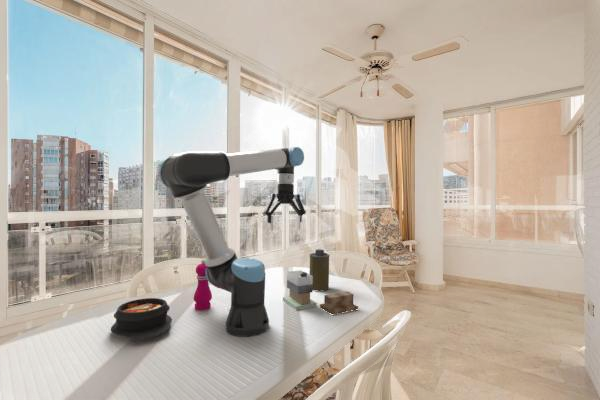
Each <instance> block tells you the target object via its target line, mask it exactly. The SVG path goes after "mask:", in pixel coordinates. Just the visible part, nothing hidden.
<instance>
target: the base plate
mask: <svg viewBox="0 0 600 400" xmlns="http://www.w3.org/2000/svg"><path fill="white" fill-rule="evenodd" d="M286 288H287V289H290V290H292V291H293V292H295V293H297V294H304V293H310V294H311V293H313V292H314V291H313V284H310V285H302V286H297V285H295V284H294V283H292V282H290V281H289V280H287V279H286Z"/></svg>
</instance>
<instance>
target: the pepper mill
mask: <svg viewBox="0 0 600 400" xmlns="http://www.w3.org/2000/svg"><path fill="white" fill-rule="evenodd" d="M205 261H206V260H205V259H202V260H201V263H199V264H197V266H196V267H195V273H196V274H197V275H196V279H197V285H196V286H197V287H196V289H195V291H194V294H193V301H194V302H195V303H194V309H195V310H196V311H207V310H209V309H211V307H212V305H211V300H212V298H213V294H212V291H211V289H210V285H209V281H208V279H207V277H206V269H207V267H206V265H205Z"/></svg>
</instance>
